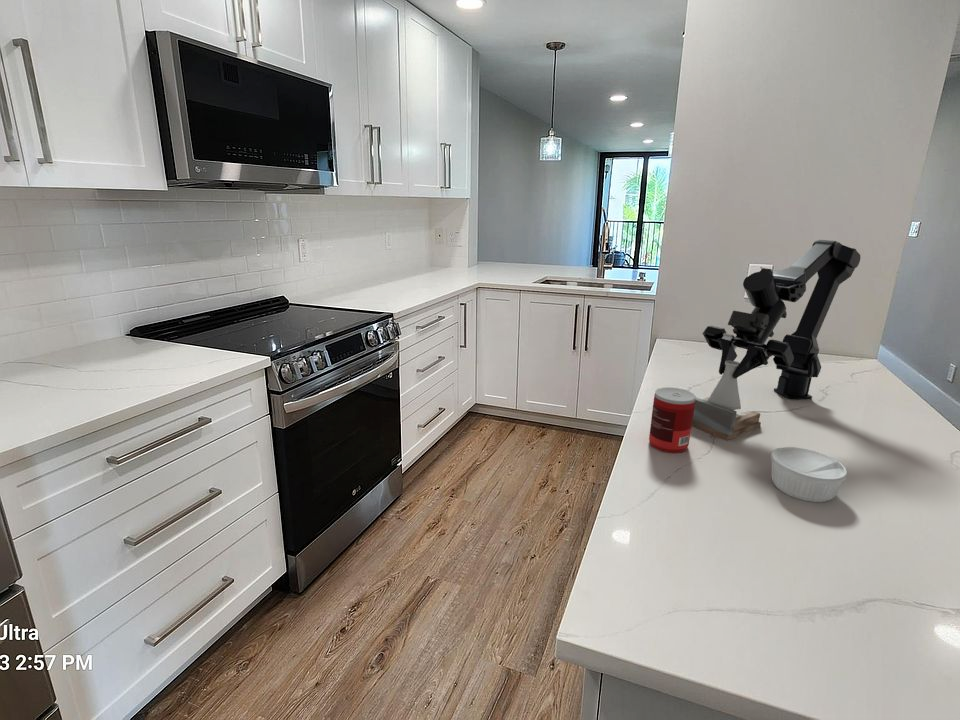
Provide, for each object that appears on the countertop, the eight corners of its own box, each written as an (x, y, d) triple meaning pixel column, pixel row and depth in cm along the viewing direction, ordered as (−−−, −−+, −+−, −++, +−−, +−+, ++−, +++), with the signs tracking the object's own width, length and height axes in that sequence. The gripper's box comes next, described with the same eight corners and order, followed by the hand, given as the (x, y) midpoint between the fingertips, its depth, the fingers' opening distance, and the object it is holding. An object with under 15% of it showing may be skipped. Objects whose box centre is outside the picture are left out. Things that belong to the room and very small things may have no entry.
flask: (735, 413, 114) (745, 369, 112) (701, 403, 119) (710, 361, 116) (745, 405, 120) (755, 363, 117) (713, 396, 124) (721, 355, 121)
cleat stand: (707, 407, 128) (710, 383, 126) (760, 426, 118) (765, 401, 116) (673, 418, 121) (676, 394, 119) (726, 440, 110) (731, 413, 109)
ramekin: (841, 514, 85) (848, 485, 84) (763, 493, 91) (769, 465, 89) (839, 484, 94) (846, 457, 93) (768, 467, 100) (774, 441, 98)
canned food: (687, 439, 110) (695, 390, 107) (688, 456, 103) (696, 403, 100) (649, 433, 113) (655, 384, 109) (647, 449, 105) (654, 398, 102)
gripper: (713, 290, 122) (677, 343, 119) (798, 305, 107) (759, 365, 104) (727, 320, 128) (693, 371, 126) (809, 337, 114) (772, 396, 111)
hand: (726, 375), depth 116 cm, fingers closed on flask, 3 cm apart
